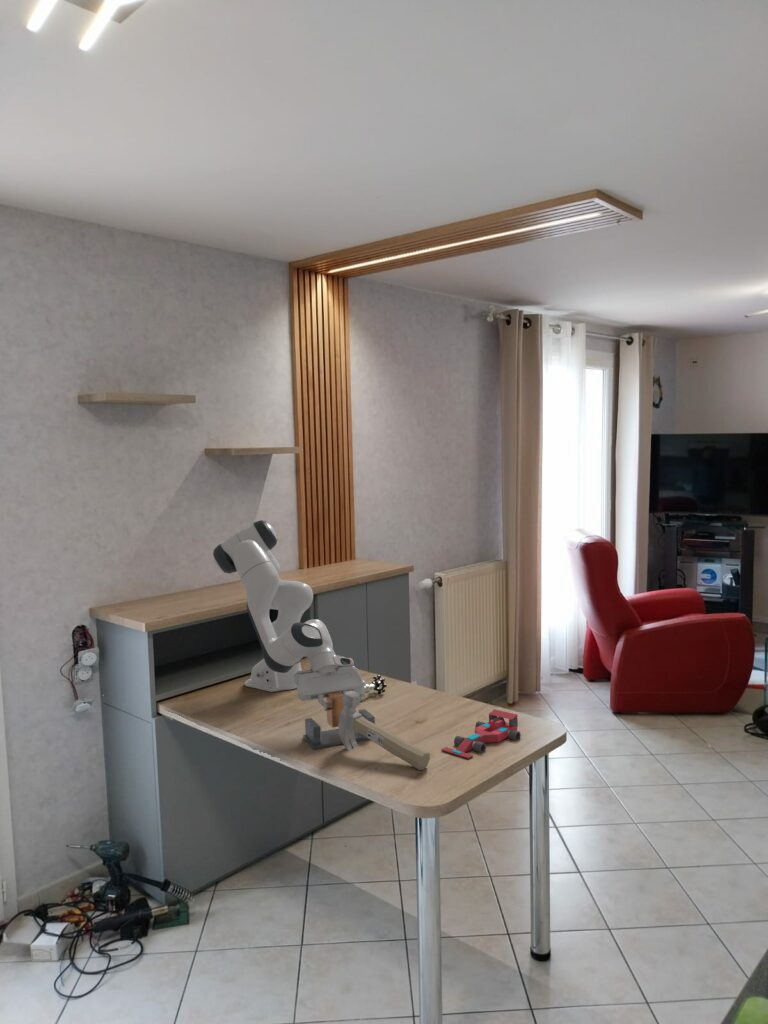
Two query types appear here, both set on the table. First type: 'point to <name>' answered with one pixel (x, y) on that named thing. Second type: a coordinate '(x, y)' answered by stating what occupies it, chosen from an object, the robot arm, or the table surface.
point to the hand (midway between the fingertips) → (336, 708)
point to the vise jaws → (330, 733)
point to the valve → (373, 687)
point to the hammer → (376, 734)
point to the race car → (487, 733)
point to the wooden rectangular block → (334, 708)
